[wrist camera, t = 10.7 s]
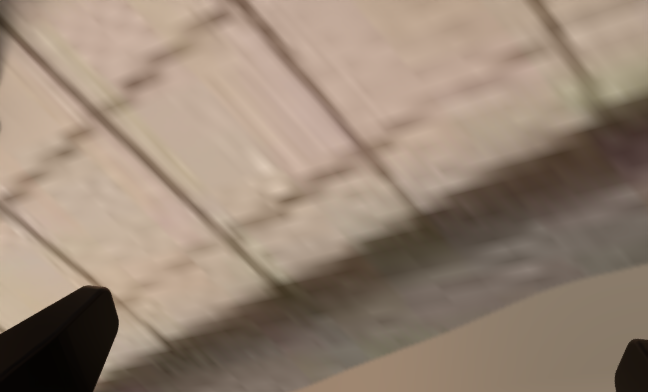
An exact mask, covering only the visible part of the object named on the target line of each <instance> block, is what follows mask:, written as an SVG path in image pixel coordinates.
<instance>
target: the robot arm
mask: <svg viewBox="0 0 648 392" xmlns="http://www.w3.org/2000/svg"><path fill="white" fill-rule="evenodd" d="M118 326H119V320H118V316H117V312H116V309H115V305H114V302H113V298H112V295H111V292H110V290H109V289H108V288H106V287H101V286H90V285H88V286H83V287H81V288H79V289H78V290H76V291H74V292H73V293H71V294H69V295H67V296H66V297H64V298H62V299H60V300H59V301H57V302H55V303H53V304H52V305H50V306H48V307H47V308H45V309H43V310H41V311H40V312H38V313H36V314H34V315H33V316H31V317H29V318H27V319H26V320H24V321H22V322H20V323H19V324H17V325H15V326H14V327H12V328H10V329H8V330H7V331H5V332H3V333H1V334H0V392H93V391H94V389H95V386H96V384H97V381H98V379H99V376H100V374H101V371H102V369H103V367H104V364H105V362H106V359H107V357H108V354H109V352H110V349H111V347H112V344H113V342H114V339H115V337H116V334H117V331H118ZM615 387H616V392H648V340H644V339H633V340H631V341H630V342H629V344H628V345H627V348H626V350H625V352H624V354H623V356H622V359H621V361H620V363H619V366H618V368H617V370H616V373H615Z"/></svg>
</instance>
